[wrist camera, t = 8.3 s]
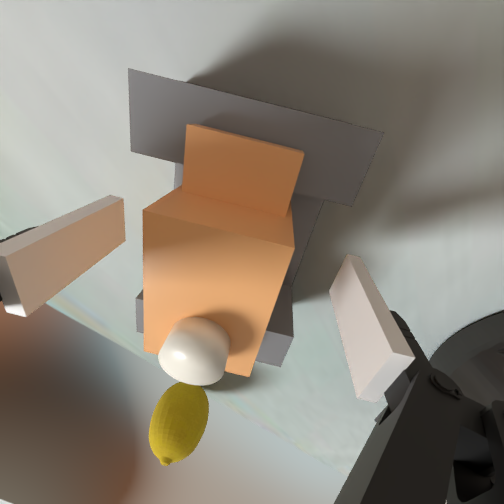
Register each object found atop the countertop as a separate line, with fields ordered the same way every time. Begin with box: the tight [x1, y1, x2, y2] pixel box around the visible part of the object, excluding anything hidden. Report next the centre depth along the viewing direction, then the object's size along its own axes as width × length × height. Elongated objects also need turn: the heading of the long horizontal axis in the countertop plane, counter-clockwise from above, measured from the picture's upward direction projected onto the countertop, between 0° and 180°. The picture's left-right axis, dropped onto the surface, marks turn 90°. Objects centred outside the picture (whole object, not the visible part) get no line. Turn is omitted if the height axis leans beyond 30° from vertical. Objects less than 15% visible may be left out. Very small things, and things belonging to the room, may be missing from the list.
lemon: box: [149, 382, 209, 466], centre depth 25 cm, size 6×6×8 cm
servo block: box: [143, 124, 305, 386], centre depth 13 cm, size 5×12×10 cm, turn 168°
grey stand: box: [128, 68, 384, 367], centre depth 15 cm, size 10×15×6 cm, turn 168°
